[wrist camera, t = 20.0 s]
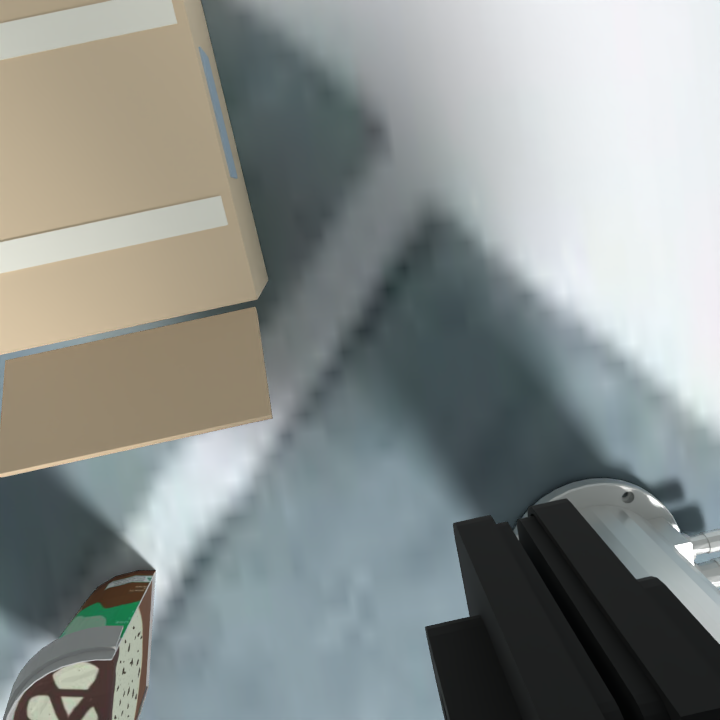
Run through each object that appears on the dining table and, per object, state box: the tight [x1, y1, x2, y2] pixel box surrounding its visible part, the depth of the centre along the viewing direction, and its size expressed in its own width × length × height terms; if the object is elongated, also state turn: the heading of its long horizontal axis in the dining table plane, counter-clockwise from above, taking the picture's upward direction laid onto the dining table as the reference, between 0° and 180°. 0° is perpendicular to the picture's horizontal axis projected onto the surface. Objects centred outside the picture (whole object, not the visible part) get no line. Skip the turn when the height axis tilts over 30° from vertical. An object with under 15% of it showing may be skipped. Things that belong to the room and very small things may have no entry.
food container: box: [3, 570, 156, 720], centre depth 40 cm, size 12×6×10 cm, turn 173°
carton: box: [0, 0, 268, 355], centre depth 34 cm, size 13×18×8 cm
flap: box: [0, 307, 272, 477], centre depth 31 cm, size 13×6×1 cm
